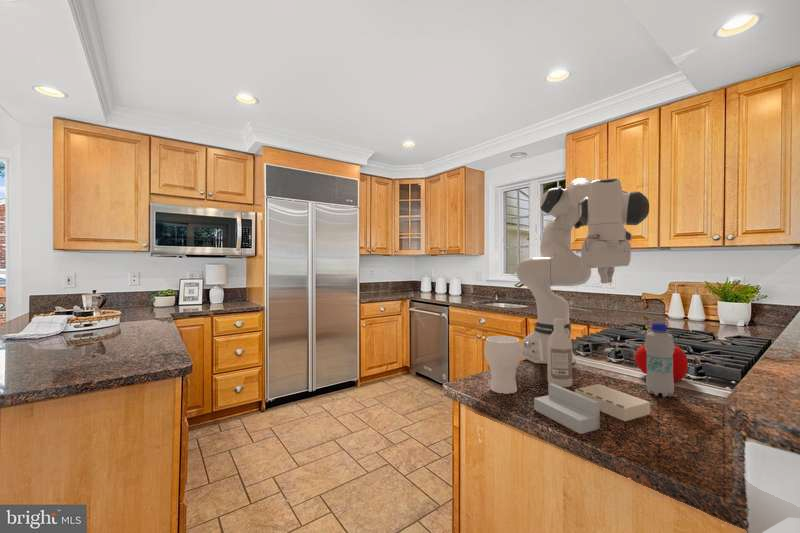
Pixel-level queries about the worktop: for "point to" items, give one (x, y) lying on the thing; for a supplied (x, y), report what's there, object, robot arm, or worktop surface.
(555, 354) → the bath foam
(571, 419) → the stepped block
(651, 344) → the bottle
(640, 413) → the cream slotted block
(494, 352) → the cup
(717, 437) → the worktop surface
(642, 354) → the tomato
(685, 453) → the worktop surface
